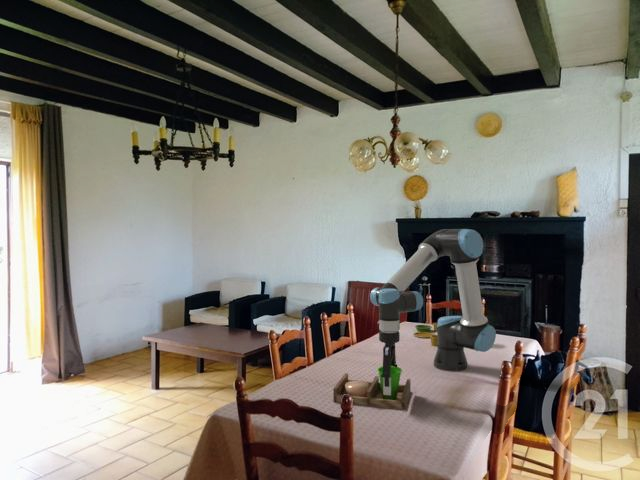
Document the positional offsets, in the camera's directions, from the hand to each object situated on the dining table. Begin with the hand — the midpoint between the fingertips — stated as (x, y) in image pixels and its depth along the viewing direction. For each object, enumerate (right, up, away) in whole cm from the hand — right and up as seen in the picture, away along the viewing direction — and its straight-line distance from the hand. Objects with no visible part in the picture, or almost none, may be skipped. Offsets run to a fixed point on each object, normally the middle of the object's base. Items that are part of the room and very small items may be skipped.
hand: (389, 389), depth 175 cm
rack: (-6, -4, +2) cm, 8 cm away
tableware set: (+42, -1, +96) cm, 105 cm away
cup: (0, -3, 0) cm, 4 cm away
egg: (-12, -3, +4) cm, 13 cm away
